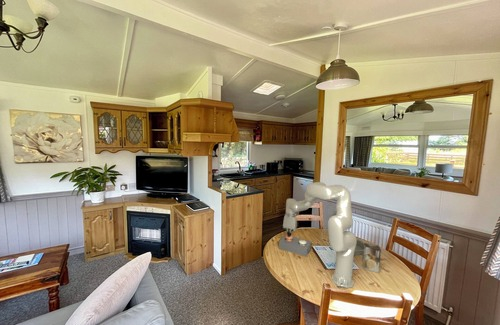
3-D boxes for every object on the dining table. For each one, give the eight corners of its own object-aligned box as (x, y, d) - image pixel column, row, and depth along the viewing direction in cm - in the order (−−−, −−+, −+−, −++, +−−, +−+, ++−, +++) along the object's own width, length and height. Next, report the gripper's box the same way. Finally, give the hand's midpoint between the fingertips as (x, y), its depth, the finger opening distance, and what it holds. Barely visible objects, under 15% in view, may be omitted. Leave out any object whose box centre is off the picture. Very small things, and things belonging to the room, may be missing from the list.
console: (306, 256, 154) (307, 249, 154) (279, 248, 165) (279, 241, 164) (311, 248, 166) (311, 241, 166) (285, 241, 177) (285, 234, 176)
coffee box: (377, 267, 144) (379, 245, 142) (379, 272, 138) (381, 249, 136) (362, 264, 147) (364, 242, 146) (363, 269, 141) (365, 246, 140)
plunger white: (304, 251, 159) (305, 243, 158) (297, 249, 162) (298, 241, 161) (306, 248, 164) (307, 240, 163) (299, 246, 167) (300, 239, 166)
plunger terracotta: (291, 246, 164) (291, 238, 164) (284, 244, 167) (284, 236, 166) (293, 243, 169) (293, 236, 168) (286, 241, 172) (287, 234, 171)
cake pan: (358, 242, 181) (358, 237, 180) (372, 257, 157) (372, 252, 156) (329, 239, 183) (329, 235, 183) (338, 255, 159) (339, 249, 158)
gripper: (301, 215, 165) (299, 237, 167) (283, 211, 172) (282, 232, 175) (298, 217, 159) (296, 240, 161) (279, 213, 166) (278, 235, 168)
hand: (289, 236), depth 168 cm, fingers closed
